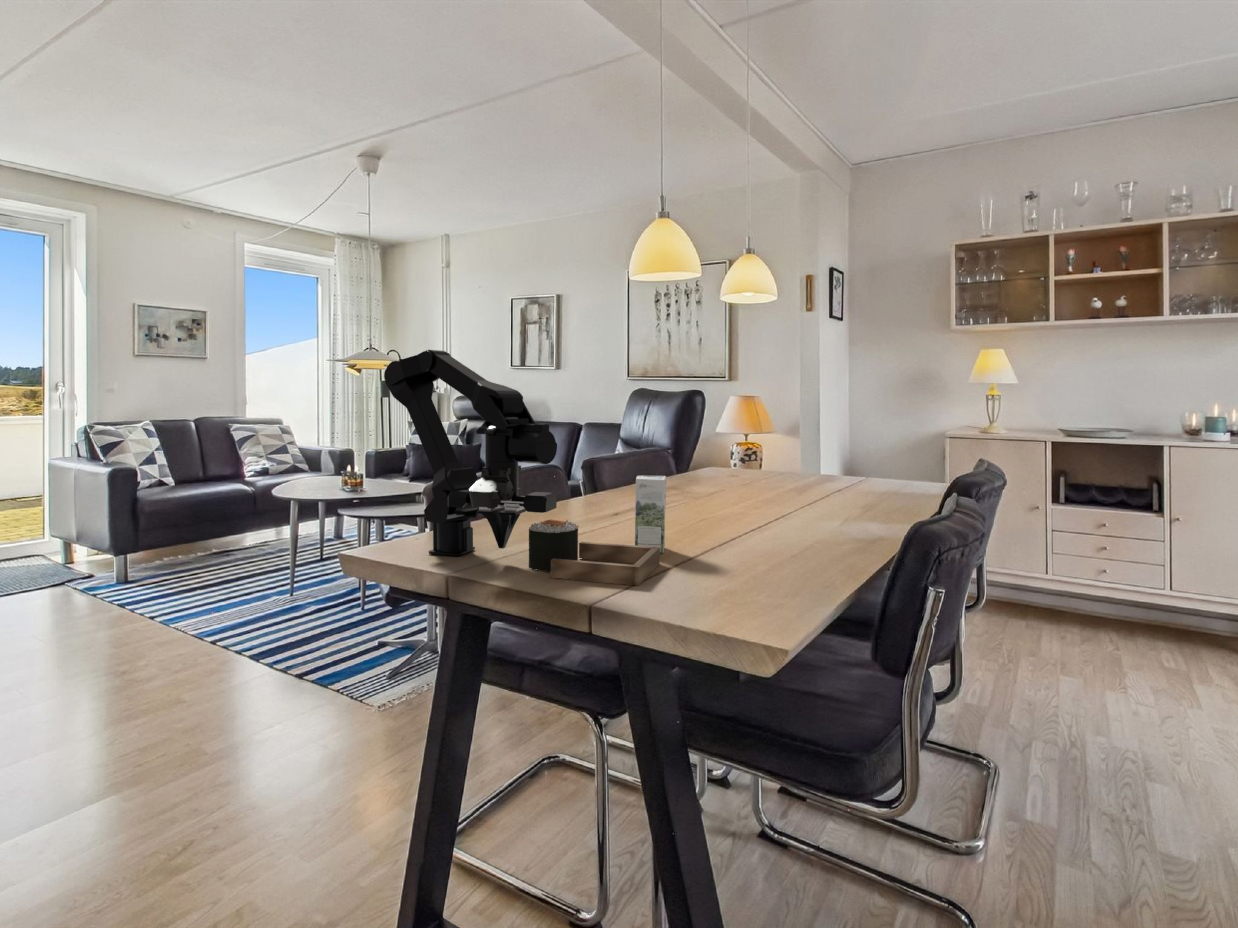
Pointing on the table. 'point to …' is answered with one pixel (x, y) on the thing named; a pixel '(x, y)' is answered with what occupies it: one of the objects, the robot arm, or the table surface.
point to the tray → (608, 572)
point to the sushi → (552, 543)
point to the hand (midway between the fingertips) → (502, 547)
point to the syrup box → (650, 511)
